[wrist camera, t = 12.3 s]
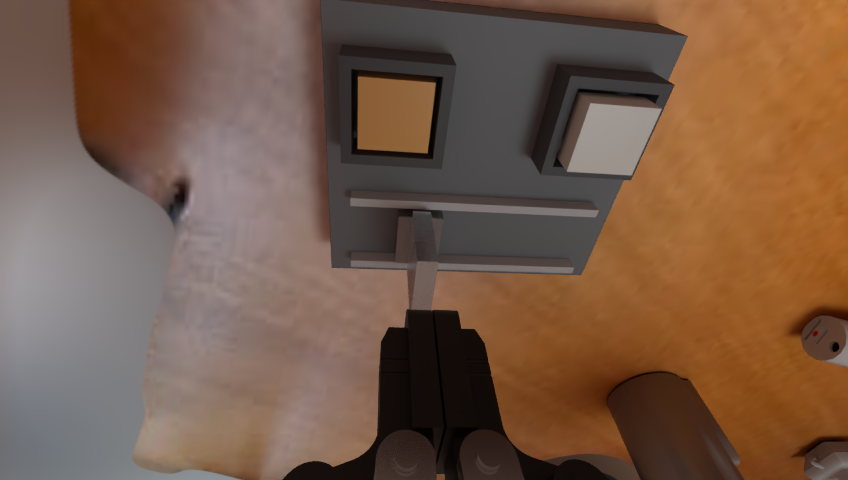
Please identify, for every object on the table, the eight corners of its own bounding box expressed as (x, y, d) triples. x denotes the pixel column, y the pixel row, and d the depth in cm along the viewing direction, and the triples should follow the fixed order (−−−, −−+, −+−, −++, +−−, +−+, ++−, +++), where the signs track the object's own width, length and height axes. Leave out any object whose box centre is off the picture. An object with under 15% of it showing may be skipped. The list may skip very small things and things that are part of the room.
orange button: (432, 72, 23) (435, 83, 22) (425, 140, 26) (427, 153, 24) (359, 66, 23) (358, 76, 21) (359, 135, 25) (357, 148, 24)
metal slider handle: (442, 202, 29) (454, 262, 24) (434, 258, 32) (442, 321, 27) (398, 200, 28) (401, 260, 23) (394, 257, 31) (395, 320, 26)
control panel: (660, 24, 26) (712, 46, 22) (568, 251, 37) (591, 294, 32) (327, -11, 23) (314, 6, 19) (335, 243, 34) (328, 288, 30)
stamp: (864, 435, 64) (919, 495, 57) (834, 455, 68) (882, 514, 61) (812, 435, 63) (863, 497, 56) (785, 456, 67) (828, 516, 60)
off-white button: (645, 97, 24) (661, 109, 22) (618, 161, 26) (631, 175, 25) (578, 91, 23) (590, 103, 22) (556, 157, 26) (566, 171, 24)
